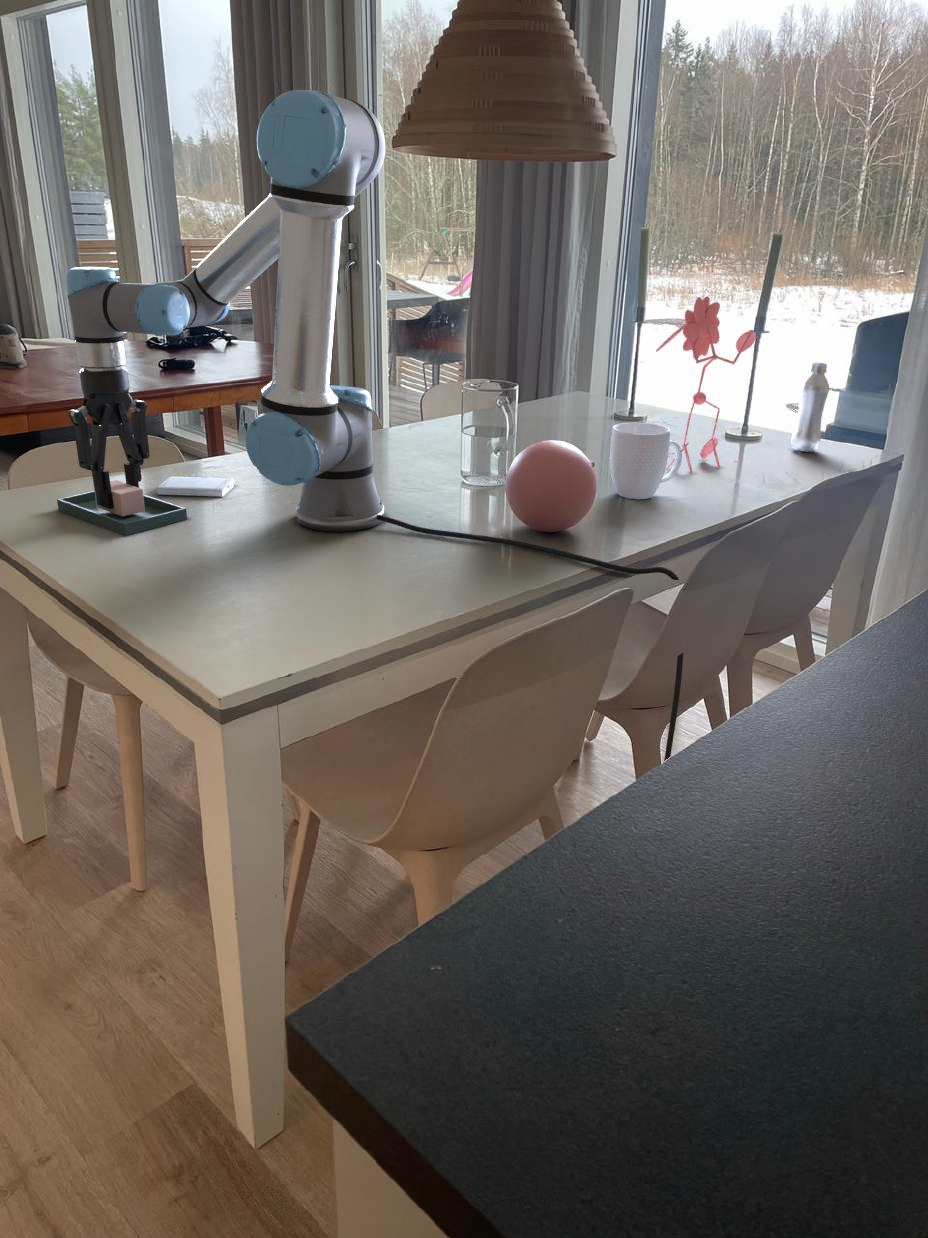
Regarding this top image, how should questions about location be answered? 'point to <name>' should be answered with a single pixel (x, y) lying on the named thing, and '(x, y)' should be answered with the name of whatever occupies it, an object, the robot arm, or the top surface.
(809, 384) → the plastic bottle
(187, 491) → the hard drive
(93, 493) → the tray
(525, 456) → the balloon
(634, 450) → the mug
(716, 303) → the figurine
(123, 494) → the eraser
